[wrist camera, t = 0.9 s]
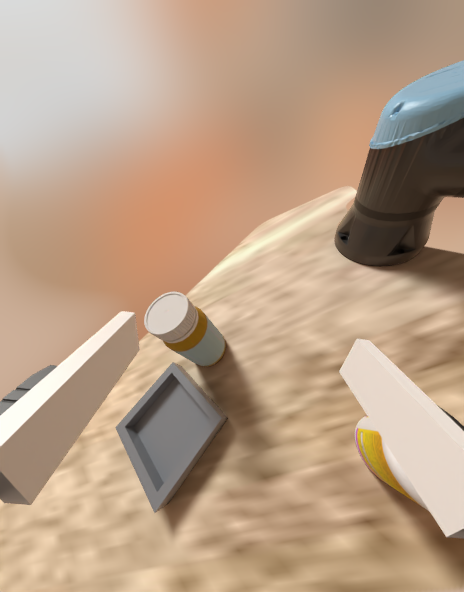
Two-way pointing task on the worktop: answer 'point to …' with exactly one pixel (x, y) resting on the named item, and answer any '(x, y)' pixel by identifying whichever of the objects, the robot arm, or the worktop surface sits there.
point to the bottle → (185, 329)
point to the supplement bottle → (383, 460)
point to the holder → (169, 433)
